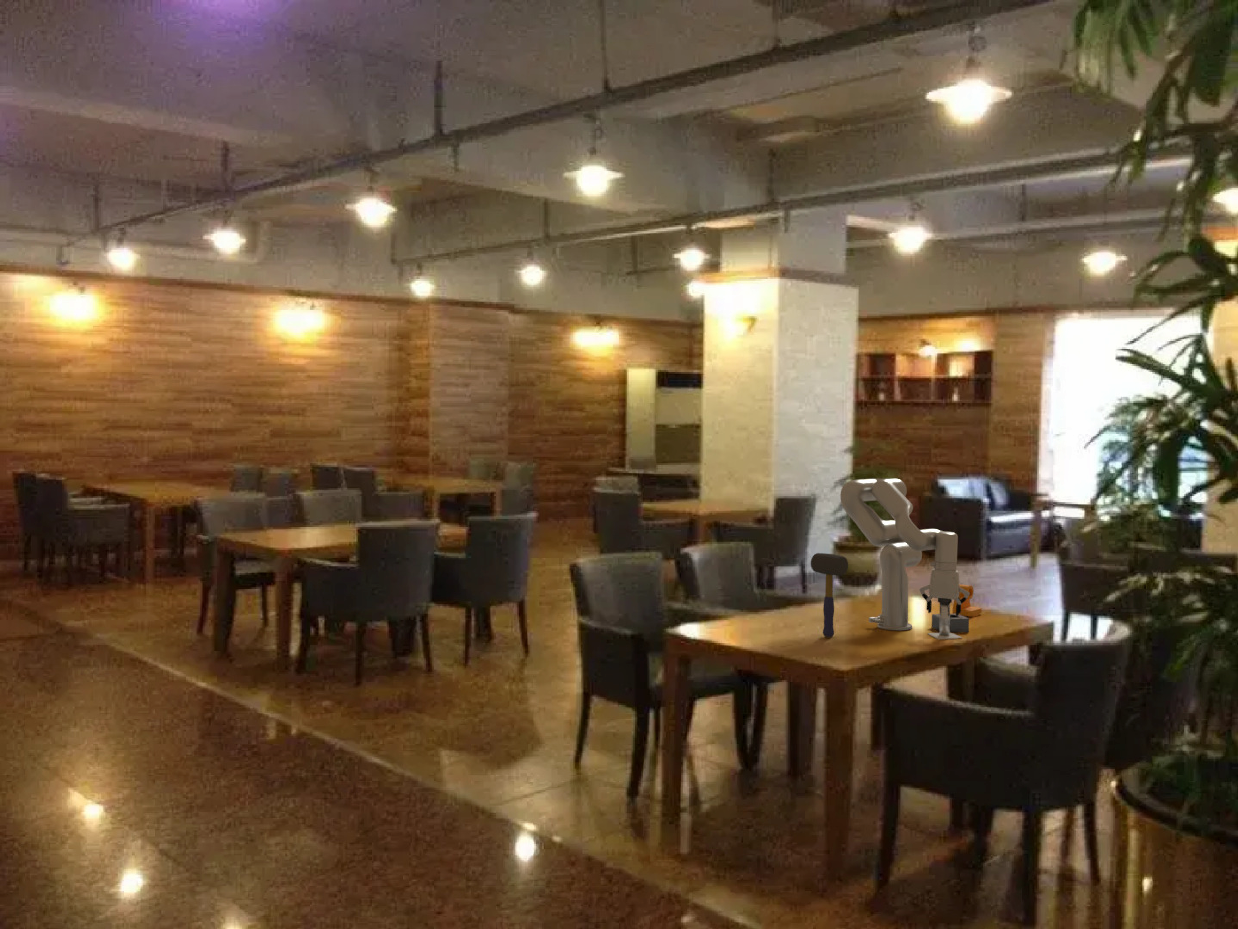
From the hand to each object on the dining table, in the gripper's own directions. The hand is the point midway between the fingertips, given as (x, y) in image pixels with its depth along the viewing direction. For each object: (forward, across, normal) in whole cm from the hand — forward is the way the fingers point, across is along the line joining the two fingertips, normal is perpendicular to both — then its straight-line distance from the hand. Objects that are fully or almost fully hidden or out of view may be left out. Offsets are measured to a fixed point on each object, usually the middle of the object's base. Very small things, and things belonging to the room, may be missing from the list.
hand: (943, 613), depth 413 cm
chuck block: (+8, +1, +14) cm, 16 cm away
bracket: (+9, +3, +47) cm, 48 cm away
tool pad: (+8, +1, 0) cm, 8 cm away
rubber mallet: (+9, -37, -19) cm, 42 cm away
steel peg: (+8, +1, 0) cm, 8 cm away
